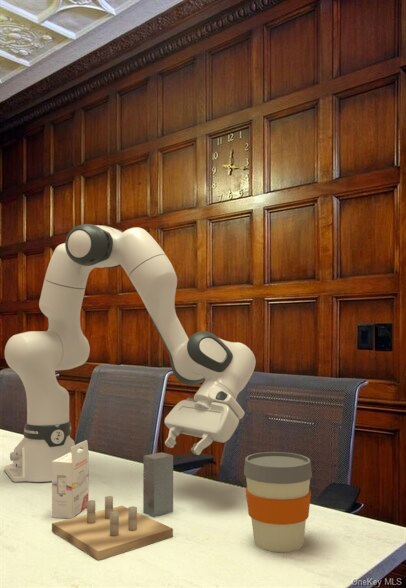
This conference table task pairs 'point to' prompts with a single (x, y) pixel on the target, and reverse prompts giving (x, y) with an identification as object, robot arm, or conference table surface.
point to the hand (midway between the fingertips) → (180, 449)
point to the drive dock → (102, 530)
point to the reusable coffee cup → (278, 499)
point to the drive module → (157, 484)
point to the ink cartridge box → (70, 482)
